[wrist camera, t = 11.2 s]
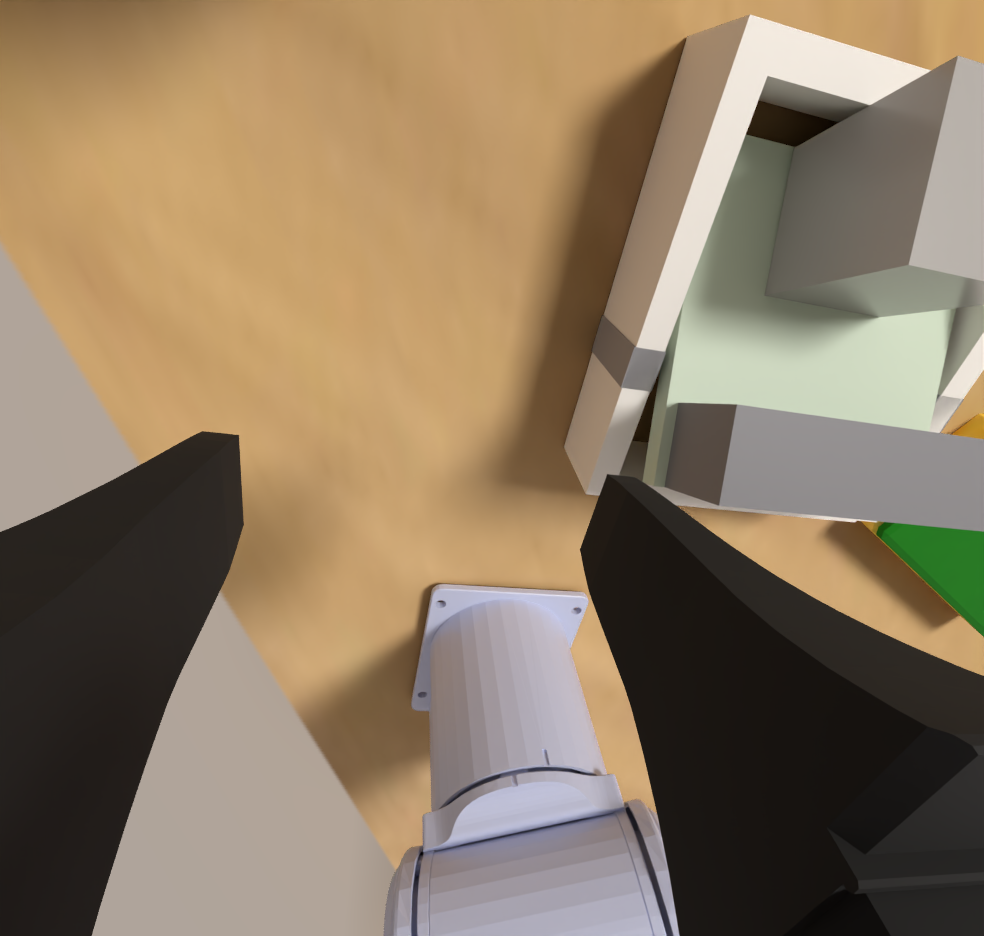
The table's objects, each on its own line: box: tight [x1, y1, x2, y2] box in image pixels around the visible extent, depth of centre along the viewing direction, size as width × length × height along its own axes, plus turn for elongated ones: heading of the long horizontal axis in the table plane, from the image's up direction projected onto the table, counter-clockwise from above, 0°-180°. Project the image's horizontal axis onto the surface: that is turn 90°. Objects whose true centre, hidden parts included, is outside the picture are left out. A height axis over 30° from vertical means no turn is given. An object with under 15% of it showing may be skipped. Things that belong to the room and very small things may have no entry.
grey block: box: [765, 56, 984, 317], centre depth 15 cm, size 4×4×5 cm
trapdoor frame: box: [564, 15, 984, 522], centre depth 19 cm, size 14×13×4 cm
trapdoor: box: [642, 135, 984, 532], centre depth 17 cm, size 11×10×4 cm
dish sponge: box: [861, 413, 984, 636], centre depth 28 cm, size 7×14×2 cm, turn 50°
